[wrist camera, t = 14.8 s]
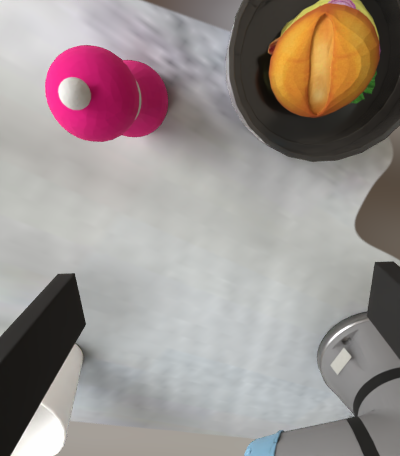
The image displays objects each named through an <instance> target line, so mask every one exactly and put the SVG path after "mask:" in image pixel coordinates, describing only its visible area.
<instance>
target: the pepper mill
mask: <svg viewBox="0 0 400 456" xmlns="http://www.w3.org/2000/svg"><path fill="white" fill-rule="evenodd" d="M45 91H46V98H47V102H48V105H49V108H50V110H51V112H52V114H53V115H54V117H55V119H56V120H57V121H58V122H59V124H60V125H61V126H62V127H63V128H64V129H65V130H67V131H68V132H69V133H71V134H73V135H74V136H76V137H78V138H81V139H83V140H88V141H97V142H104V141H108V140H113V139H115V138H117V137H119V136H121V135H124V136H127V137H141V136H145V135H148V134H150V133H152V132H153V131H155V130H156V129H157V128H158V127H159V126H160V125H161V124H162V122H163V120H164V118H165V116H166V113H167V109H168V94H167V90H166V87H165V84H164V82H163V80H162V79H161V77H160V76H159V75H158V74H157V72H156V71H155V70H153V69H152V68H151V67H149V66H148V65H146V64H144V63H141V62H137V61H132V60H122V59H121V58H119V57H118V56H116V55H115V54H113V53H112V52H111V51H109V50H106V49H104V48H101V47H97V46H90V45H83V46H77V47H73V48H70V49H68V50H66V51H64V52H63V53H62V54H60V55H59V56H58V57H57V58H56V59H55V60H54V62H53V63H52V64H51V66H50V68H49V70H48V73H47V77H46V82H45Z"/></svg>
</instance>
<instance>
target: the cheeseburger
mask: <svg viewBox="0 0 400 456" xmlns="http://www.w3.org/2000/svg"><path fill="white" fill-rule="evenodd" d="M380 52H381V50H380V44H379V35H378V32H377V28H376V25H375V23H374V20H373V18H372V17H371V15H370V14H369V12H368V11H367V10H366V8H365V7H364V5H363V4H362V2H361V1H360V0H319V1H318V2H317V3H315V4H314V5H312V6H310V7H308V8H306V9H304V10H302V11H301V12H300V13H299V14H298V16H297V17H296V18H294V19H293V20H291V21H289V22H288V23H287V24H286V25H285V26H284V28H283V29H282V31H281V37H279V38H277V39H276V40H274V41H273V42H272V43H271V44H270V45H269V49H268V53H269V54H271V55H272V56H271V60H270V67H269V79H270V84H271V89H272V91H273V93H274V95H275V97H276V99H277V100H278V102H279V103H280V104H281V105H282V106H283V107H284V108H286V109H287V110H288V111H290V112H292V113H294V114H297V115H299V116H304V117H311V118H317V117H321V116H324V115H327V114H330V113H333V112H335V111H337V110H339V109H340V108H342V107H344V106H346V105H348V104H350V103H355V104H356V103H358V102H359V101H361V100H362V99H365V98H364V95H363V93H369V94H372V90H373V89H374V87H375V77H376V75H377V71H376V69H377V65H378V62H379V59H380Z"/></svg>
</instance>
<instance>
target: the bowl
mask: <svg viewBox="0 0 400 456" xmlns="http://www.w3.org/2000/svg"><path fill="white" fill-rule="evenodd" d="M318 1H319V0H243V1H242V3H241V5H240V8H239V10H238V12H237V14H236V16H235V19H234V23H233V27H232V30H231V34H230V39H229V44H228V48H227V53H226V59H225V60H226V84H227V88H228V92H229V95H230V99H231V103H232V105H233V108H234V110H235V111H236V113H237V115H238V116H239V118H240V120H241V122H242V123H243V125H244V126H245V127H246V128H247V129H248V130H249V131H250V132H251V133H252V134H253V135H254V136H255V137H256V138H257V139H258V140H260V141H261V142H263V143H264V144H266V145H268V146H269V147H271V148H273V149H275V150H277V151H279V152H281V153H282V154H284V155H286V156H288V157H292V158H297V159H301V160H306V161H311V162H316V161H336V160H340V159H343V158H346V157H349V156H353V155H356V154H359V153H362V152H364V151H365V150H367V149H369V148H370V147H372V146H374V145H376V144H377V143H379V142H381V141H382V140H384V139H385V138H387V137H388V136H389V135H390V134H391V133H392V132H393V131H394V130H395V129H396V128H397V127H398V126H400V0H360V1H361V2H362V4H363V5H364V7H365V8H366V10H367V11H368V12H369V14H370V15H371V17H372V18H373V20H374V23H375V25H376V28H377V32H378V35H379V44H380V50H381V52H380V59H379V62H378V65H377V69H376V71H377V75H376V77H375V87H374V89H373V90H372V94H369V93H363V95H364V98H365V99H362V100H361V101H359V102H358V103H356V104H355V103H350V104H348V105H346V106H344V107H342V108H340V109H339V110H337V111H335V112H333V113H330V114H327V115H324V116H321V117H317V118H311V117H304V116H299V115H297V114H294V113H292V112H290V111H288V110H287V109H286V108H284V107H283V106H282V105H281V104H280V103H279V102H278V100H277V99H276V97H275V95H274V93H273V91H272V89H271V84H270V79H269V67H270V60H271V56H272V55H271V54H269V53H268V49H269V45H270V44H271V43H272V42H273V41H274V40H276V39H277V38H279V37H281V31H282V29H283V28H284V26H285V25H286V24H287V23H288V22H289V21H291V20H293V19H294V18H296V17H297V16H298V14H299V13H300V12H301V11H302V10H304V9H306V8H308V7H310V6H312V5H314V4H315V3H317V2H318Z"/></svg>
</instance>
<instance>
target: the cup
mask: <svg viewBox="0 0 400 456" xmlns="http://www.w3.org/2000/svg"><path fill="white" fill-rule="evenodd" d="M82 363H83V353H82V351H81V349H80V348H79V347H78V345H76V344H74V346H73V348H72V350H71V351H70V353H69V355H68V357H67V358H66V360H65V362H64V363H63V365H62V367H61V369H60V370H59V372H58V374H57V376H56V377H55V379H54V381H53V383H52V384H51V386H50V388H49V390H48V391H47V393H46V395H45V397H44V398H43V400H42V402H41V404H40V405H39V407H38V409H37V411H36V412H35V414H34V416H33V417H32V419H31V421H30V423H29V424H28V426H27V428H26V430H25V431H24V433H23V435H22V437H21V438H20V440H19V442H18V444H17V445H16V447H15V449H14V451H13V452H12V454H11V456H54V455H56V454H57V453H59V452H60V450H61V449H62V448H63V446H64V445H65V442H66V438H67V430H68V426H69V421H70V417H71V412H72V408H73V403H74V399H75V394H76V390H77V385H78V381H79V376H80V372H81V367H82Z"/></svg>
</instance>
